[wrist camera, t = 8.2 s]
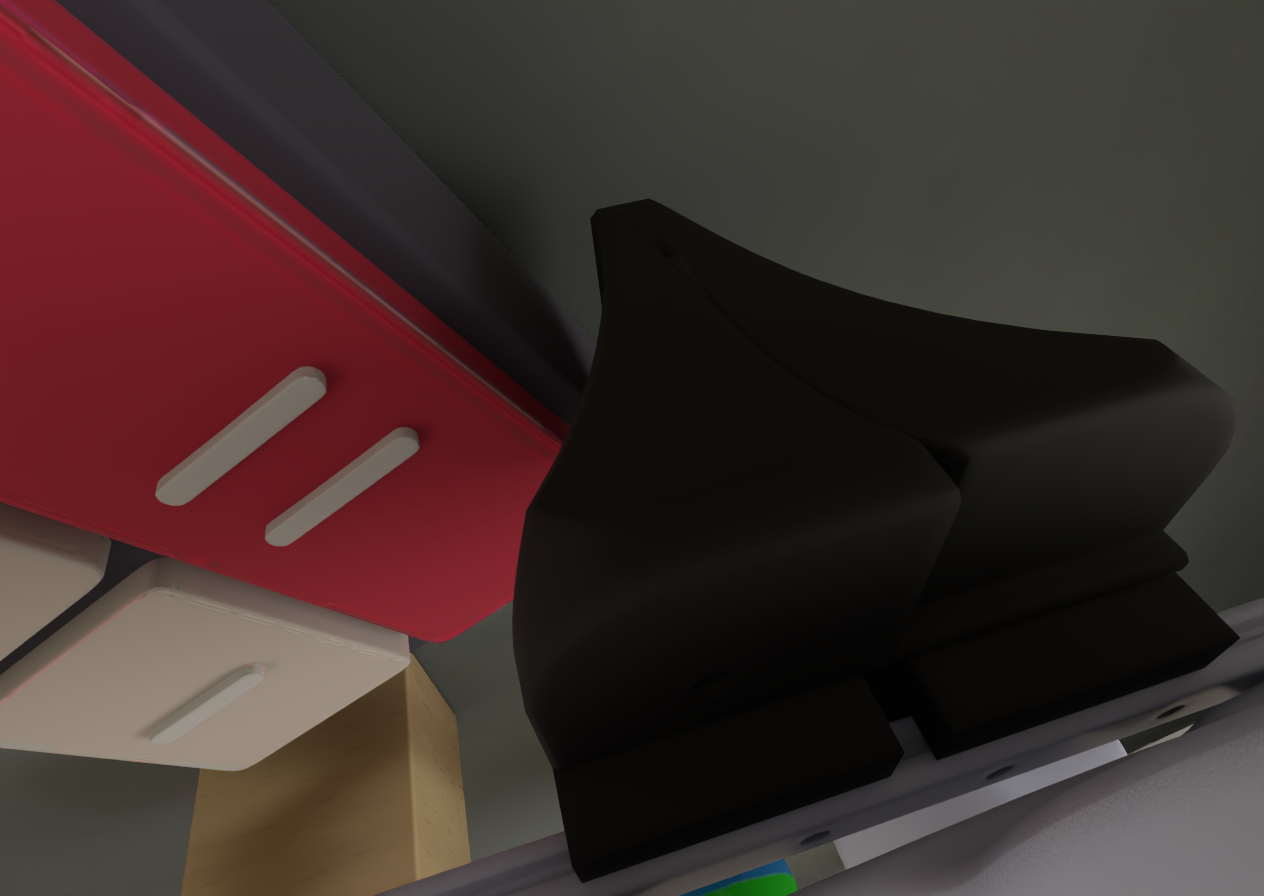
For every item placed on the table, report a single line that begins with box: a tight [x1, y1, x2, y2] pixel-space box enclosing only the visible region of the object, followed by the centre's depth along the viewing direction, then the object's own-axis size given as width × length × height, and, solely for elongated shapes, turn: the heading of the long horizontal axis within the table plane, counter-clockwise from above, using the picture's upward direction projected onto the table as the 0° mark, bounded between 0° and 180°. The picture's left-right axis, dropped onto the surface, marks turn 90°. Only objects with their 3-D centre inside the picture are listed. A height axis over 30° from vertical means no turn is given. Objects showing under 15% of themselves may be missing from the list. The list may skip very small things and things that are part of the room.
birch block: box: [181, 653, 471, 896], centre depth 17 cm, size 5×5×6 cm
